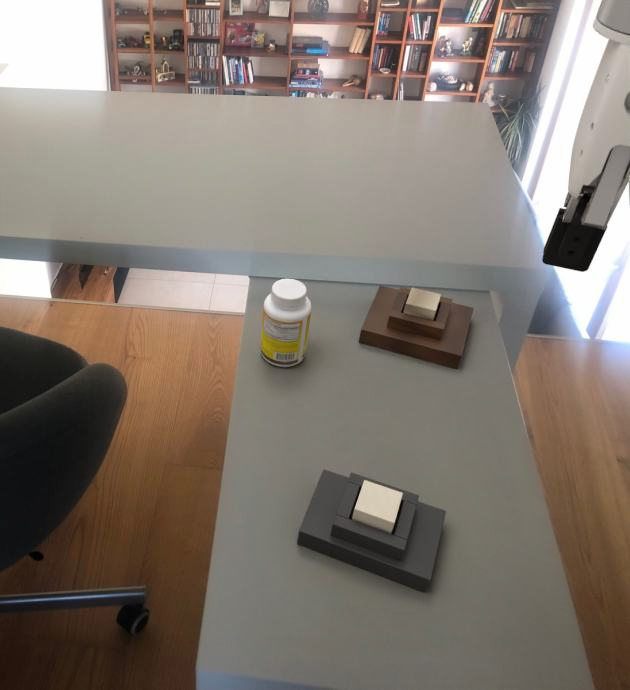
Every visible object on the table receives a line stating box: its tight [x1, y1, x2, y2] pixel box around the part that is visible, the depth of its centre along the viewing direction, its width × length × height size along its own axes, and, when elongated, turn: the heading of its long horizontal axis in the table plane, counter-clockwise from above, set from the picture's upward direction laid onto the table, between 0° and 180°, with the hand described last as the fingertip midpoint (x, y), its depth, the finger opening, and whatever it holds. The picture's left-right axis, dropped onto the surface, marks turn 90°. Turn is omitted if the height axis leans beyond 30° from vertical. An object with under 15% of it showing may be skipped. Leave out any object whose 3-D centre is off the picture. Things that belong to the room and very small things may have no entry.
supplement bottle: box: [260, 278, 312, 368], centre depth 83 cm, size 6×6×10 cm
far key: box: [404, 287, 442, 321], centre depth 86 cm, size 4×4×2 cm
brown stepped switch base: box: [358, 285, 475, 370], centre depth 87 cm, size 12×10×4 cm
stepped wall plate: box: [296, 468, 447, 593], centre depth 65 cm, size 12×8×4 cm, turn 64°
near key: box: [352, 480, 403, 534], centre depth 64 cm, size 4×4×2 cm
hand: (564, 262), depth 53 cm, fingers closed
